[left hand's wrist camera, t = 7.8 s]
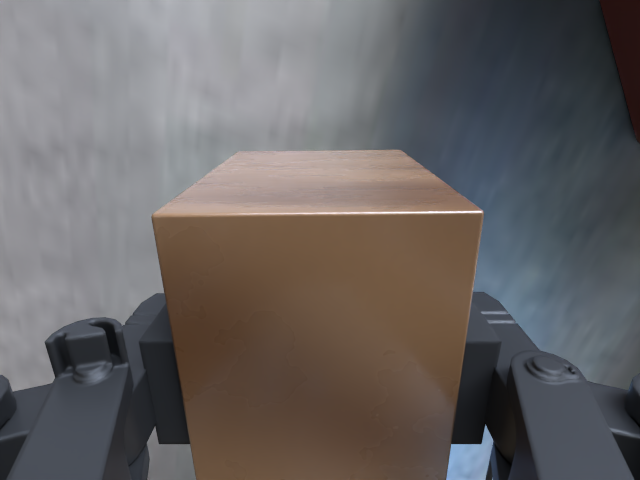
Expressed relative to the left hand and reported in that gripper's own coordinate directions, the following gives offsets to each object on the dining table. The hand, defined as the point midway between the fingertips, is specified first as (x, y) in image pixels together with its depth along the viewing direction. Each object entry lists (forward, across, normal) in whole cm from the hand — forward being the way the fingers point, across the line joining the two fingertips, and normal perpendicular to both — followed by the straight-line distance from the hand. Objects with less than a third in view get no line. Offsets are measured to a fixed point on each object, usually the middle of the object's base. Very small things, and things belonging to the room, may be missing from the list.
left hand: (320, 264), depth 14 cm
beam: (0, 0, -21) cm, 21 cm away
